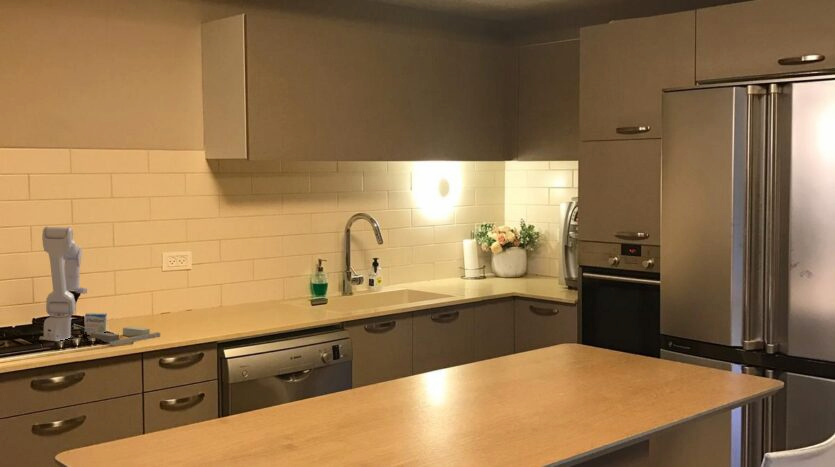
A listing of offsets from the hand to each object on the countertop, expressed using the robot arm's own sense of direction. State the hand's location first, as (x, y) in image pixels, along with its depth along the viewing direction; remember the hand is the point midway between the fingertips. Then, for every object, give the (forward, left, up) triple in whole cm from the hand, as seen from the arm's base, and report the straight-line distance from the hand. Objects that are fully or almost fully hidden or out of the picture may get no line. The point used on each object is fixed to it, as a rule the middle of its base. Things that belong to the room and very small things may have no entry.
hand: (71, 310), depth 365 cm
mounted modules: (0, -26, -9) cm, 27 cm away
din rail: (0, -34, -9) cm, 35 cm away
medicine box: (0, -13, -9) cm, 16 cm away
